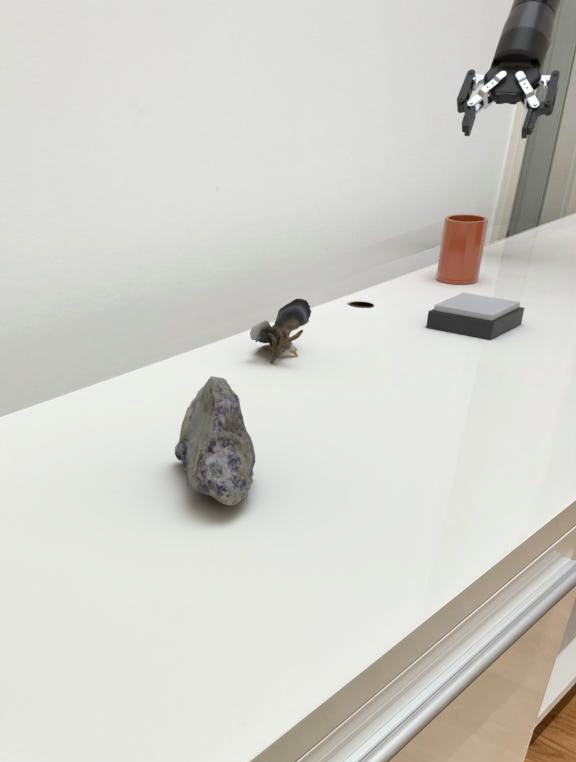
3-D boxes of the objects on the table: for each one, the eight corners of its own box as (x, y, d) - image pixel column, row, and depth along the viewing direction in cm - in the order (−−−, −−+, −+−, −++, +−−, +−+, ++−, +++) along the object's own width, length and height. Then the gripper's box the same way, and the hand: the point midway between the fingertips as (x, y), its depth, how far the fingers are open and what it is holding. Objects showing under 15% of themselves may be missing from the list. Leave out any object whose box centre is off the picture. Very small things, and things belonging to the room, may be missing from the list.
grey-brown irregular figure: (319, 357, 125) (324, 323, 132) (290, 309, 122) (296, 277, 129) (265, 385, 130) (272, 351, 136) (235, 340, 126) (244, 307, 133)
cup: (484, 278, 160) (495, 217, 155) (466, 286, 156) (476, 223, 152) (447, 272, 164) (457, 212, 159) (428, 280, 160) (437, 219, 155)
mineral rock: (230, 525, 90) (236, 415, 85) (124, 501, 95) (123, 395, 89) (287, 473, 99) (295, 371, 94) (187, 453, 104) (190, 355, 99)
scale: (521, 324, 139) (525, 301, 137) (490, 339, 134) (494, 316, 132) (457, 312, 144) (461, 291, 143) (425, 327, 139) (429, 304, 137)
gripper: (476, 24, 160) (446, 115, 158) (573, 24, 154) (544, 118, 152) (477, 61, 167) (449, 148, 165) (571, 62, 161) (543, 152, 159)
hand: (495, 133), depth 158 cm, fingers open, 8 cm apart
